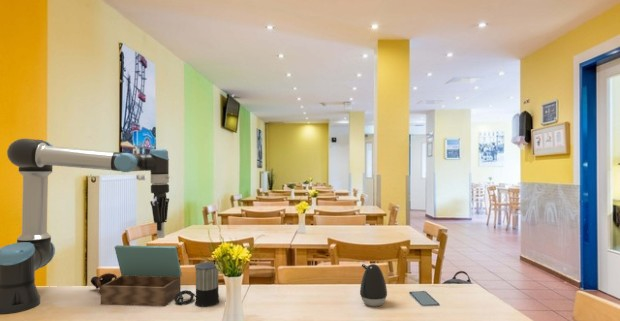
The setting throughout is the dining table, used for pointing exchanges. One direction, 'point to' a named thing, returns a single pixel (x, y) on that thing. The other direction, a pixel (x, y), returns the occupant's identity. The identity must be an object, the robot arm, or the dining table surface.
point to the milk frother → (203, 286)
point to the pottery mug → (102, 280)
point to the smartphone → (424, 298)
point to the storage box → (140, 290)
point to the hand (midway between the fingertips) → (160, 237)
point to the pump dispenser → (373, 286)
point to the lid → (148, 261)
